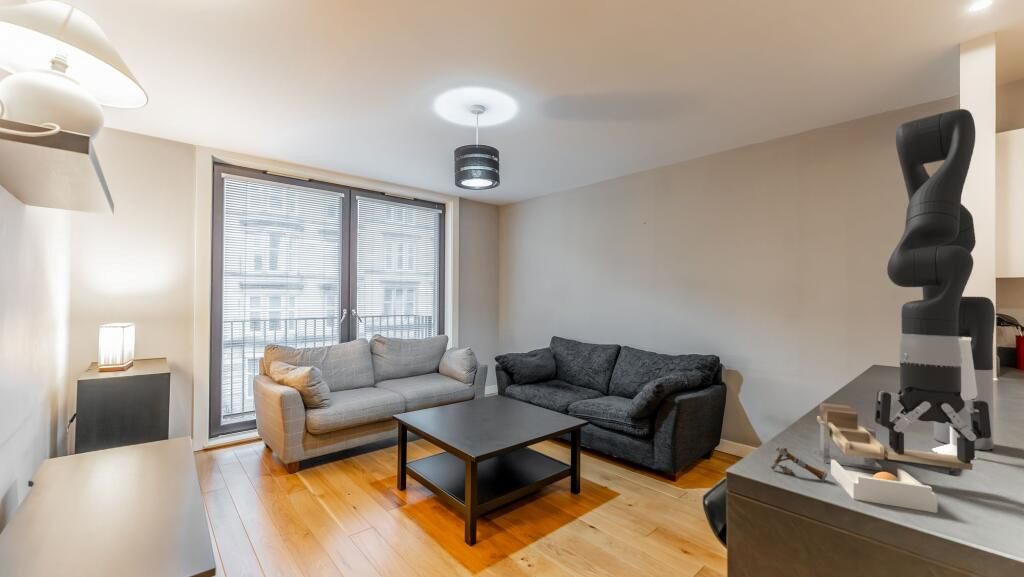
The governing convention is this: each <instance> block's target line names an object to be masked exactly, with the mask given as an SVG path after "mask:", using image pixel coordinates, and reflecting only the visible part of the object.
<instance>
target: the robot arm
mask: <svg viewBox="0 0 1024 577" xmlns="http://www.w3.org/2000/svg"><path fill="white" fill-rule="evenodd" d="M975 125H976V124H975V120H974V117H973V115H972V112H970V110H968V109H966V108H965V109H964V108H959V109H953V110H948V111H945V112H941V113H937V114H933V115H932V114H931V115H929V116H925V117H921V118H918V119H917V118H916V119H913V120H910V121H907V122H904V123H902V124H901V125H900V126H899V127H898V128H897V130H896V134H895V145H896V146H895V147H896V151H897V156H898V160H899V164H900V167H901V172H902V175H903V180H904V185H905V188H906V191H907V192H906V193H907V196H908V205H907V208H906V216H905V223H904V226H905V227H904V230H903V231H904V232H903V234H902V236H901V238H900V240H899V242H898V243H897V245H896V247H895V248H894V250H893V252H892V254H891V256H890V257H889V259H888V263H887V266H886V267H887V270H886V271H887V276H888V278H889V280H890V281H891V282H892V283H893V284H894V285H896V286H898V287H901V288H922V299H919V300H918V299H917V300H912V301H908V302H905V303H904V304H903V305H902V307H901V313H900V314H901V315H900V316H901V317H900V318H901V336H900V343H899V388H900V389H899V390H898V391H899V392H898V393H895V392H887V391H884V390H878V391H877V392H876V400H875V415H874V416H875V417H874V422H875V423H876V424H879V425H880V426H882V427H883V428H886V429H888V441H889V442H888V445H889V447H890V448H892V449H893V450H894V452H896V453H897V454H902V455H903V454H904V449H905V433H904V432H903V430H905V429H906V427H907V426H909V425H911V424H913V423H914V422H916V420H918V421H920V422H926V423H927V422H933V438H934V439H935V440H936V441H939V442H941V443H945V444H946V445H947V444H950V426H951V427H952V428H953V429H954V430H955V432H956V433H957V434H958V437H957V458H958V460H960V461H961V462H963V463H971V462H972V461H974V458H975V456H976V454H975V453H976V451H975V450H980V449H981V450H982V451H990V450H989V449H992V450H994V449H995V448H994V443H995V442H994V430H995V429H994V425H995V424H994V423H995V422H994V421H995V420H994V411H995V410H994V409H995V408H994V406H995V405H994V332H995V319H996V312H995V311H996V309H995V305H994V303H993V301H992V299H990V298H989V297H986V296H963V293H964V292H965V289H966V286H967V284H968V282H969V279H970V277H971V275H972V272H973V268H974V257H973V255H972V252H973V250H974V249H975V247H976V233H975V223H974V218H973V215H972V213H971V211H969V210H968V208H966V206H964V205H963V204H962V203H961V201H962V195H963V190H964V186H965V184H966V181H967V176H968V173H969V169H970V166H971V161H972V157H973V153H974V149H975V144H976V126H975ZM940 161H943V163H942V164H941V166H940V167H939V168H938V169H937V170H936V171H935V172H934V173H933V174H932V175H931V176H930V174H929V173H928V171H927V169H926V167H925V165H926V164H930V163H936V162H940ZM960 337H961V338H971V339H970V343H971V350H972V358H973V365H974V372H975V379H976V386H977V393H978V394H977V396H976V398H975V399H971V400H963V399H962V397H961V363H962V358H961V349H960V344H959V339H960ZM897 401H898V402H899V404H900V405H901V406H902V408H900V410H898V411H897V412H896V413H895V416H894V417H893V418H892V419H891V406H893V405H895V403H896V402H897ZM890 419H891V420H890ZM993 448H994V449H993Z"/></svg>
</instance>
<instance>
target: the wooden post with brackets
mask: <svg viewBox="0 0 1024 577" xmlns="http://www.w3.org/2000/svg"><path fill="white" fill-rule="evenodd" d="M775 451H777V453H778V456H777V457H776V459H775V460H774V461H773V462H772V464H771V466H770V469H772V470H775V469H776V467H777V466H778V467H779V468H780V470H782V472H783V473H786V474H787V473H788V474H787V475H789V474H790V475H791V474H795V475H796V473H795V472H794V471H793V469H792V468H790V467H787V465H784V466H783V465H782V464H779V463H781V462H784V461H788V460H789V461H792V463H793V464H796V466H799V467H800V468H802V469H803V470H807V471H809V472H810V473H811V474H812V475H813V476H815V477H817V478H818V479H819V482H821V483H824V482H825V481H826V478H827V477H828V475H829V474H828V470H825V469H824V470H823V471H822V470H820V469H818V468H816V467H814V466H811V465H810V464H808V463H807V462H805V461H804V460H802V459H801V458H798V456H794V455H793V454H791V453H789V451H788V448H786V447H783V448H782V446H780V447H779V446H776V447H775ZM783 457H784V458H783ZM782 458H783V459H782Z"/></svg>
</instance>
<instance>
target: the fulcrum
mask: <svg viewBox="0 0 1024 577" xmlns="http://www.w3.org/2000/svg"><path fill="white" fill-rule="evenodd" d="M819 425H820V426H819V428H820V431H819V432H820V433H819V439H820V440H819V444H820V445H819V449H814V453H815V455H817V456H818V458H819V459H820V460H821V461H822V462H823V463H826V464H831V460H835V461H836V462H837V463H838V464H839V465H840V466H847V467H853V468H860V469H867V470H876V471H879V472H884V471H883V470H884V467H883V466H881V465H880V464H879V463H878V462H877V460H876V458H869V457H861V456H854V455H846V454H844V453H843V452H835V451H830V439H831V437H830V426H828V425H827V424H826V423H819ZM864 428H865V429H866V430H867V431H868V432H869V433H870V434H871V435H872V436H873V437H874V438H875V439H876V436H877V434H876V432H877V431H875V430H873V429H872V428H870V427H864ZM876 440H877V439H876Z"/></svg>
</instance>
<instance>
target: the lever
mask: <svg viewBox="0 0 1024 577" xmlns="http://www.w3.org/2000/svg"><path fill="white" fill-rule="evenodd" d="M858 417H859V416H858V412H856V411H855V410H854V409H853V408H852V407H851V406H849V405H844V404H842V405H841V404H832V403H824V402H822V403H821V402H819V415H817V416H816V421H817V422H818V423H819V424H820V423H826V424H827V425H828V426H830V439H831V440H833V441H834V443H835V444H836V445H837V447H839V449H840V450H841V451H842V453H844V454H846V455H854V456H861V457H869V458H876V459H878V460H883V459H884V456H885V457H886V458H887V459H892V460H900V461H907V462H915V463H922V464H930V465H937V466H945V467H952V468H958V469H962V470H967V471H973V467H974V465H973V463H971V462H970V463H963V462H961V461H960V460H958V458H957V456H955V455H947V454H939V453H936V452H931V451H929V452H928V451H924V450H923V451H921V450H913V449H907V448H906V449H905V448H904V454H903V455H902V454H897V453H896V452H894V450H893V449H892V448H890V446H886V447H884V446H885V445H883V444H882V443H881V442H879V440H878V439H875V438H874V437H873V436H872V435H871V434H870V433H869V432H868V431H867V430H866V429H865V428H866V427H864V426H863V425H858V420H859V419H858Z"/></svg>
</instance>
